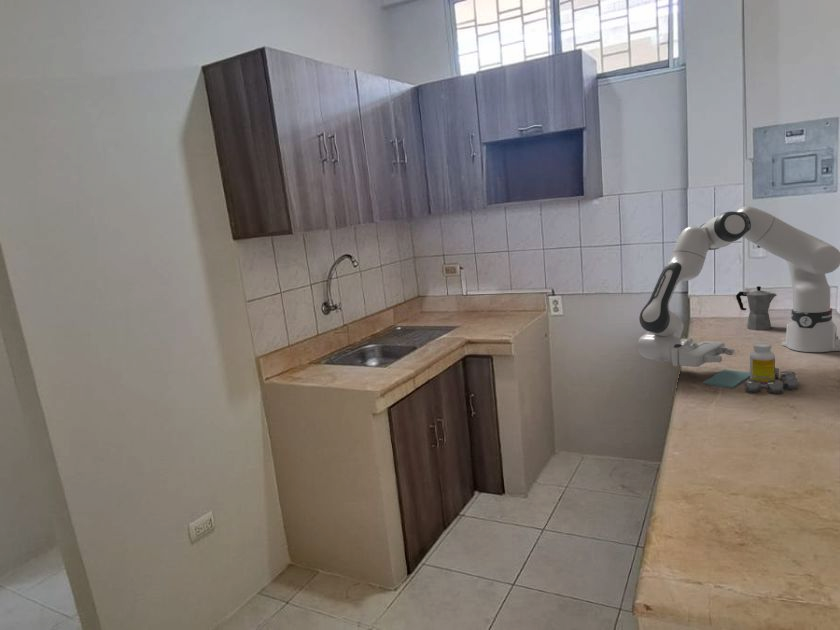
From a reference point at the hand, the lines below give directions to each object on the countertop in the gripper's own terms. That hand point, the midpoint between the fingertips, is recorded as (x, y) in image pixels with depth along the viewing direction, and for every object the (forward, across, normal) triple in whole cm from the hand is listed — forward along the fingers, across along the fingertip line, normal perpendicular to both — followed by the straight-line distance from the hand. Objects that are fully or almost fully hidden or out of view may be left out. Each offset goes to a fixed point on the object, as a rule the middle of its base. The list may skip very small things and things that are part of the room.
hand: (727, 355), depth 182 cm
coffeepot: (-18, -72, -8) cm, 75 cm away
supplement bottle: (+10, 0, -8) cm, 13 cm away
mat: (0, 0, -8) cm, 8 cm away
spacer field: (+14, 0, -8) cm, 16 cm away
